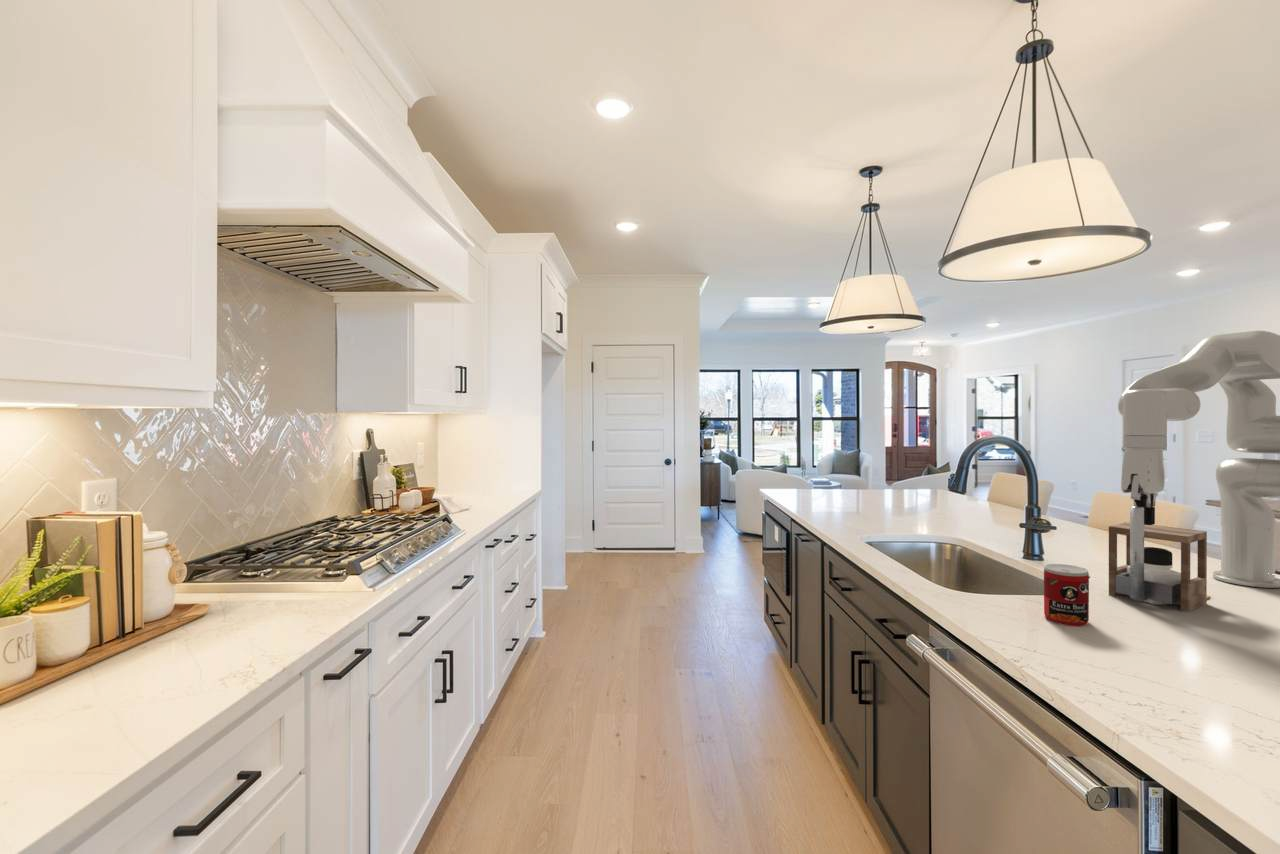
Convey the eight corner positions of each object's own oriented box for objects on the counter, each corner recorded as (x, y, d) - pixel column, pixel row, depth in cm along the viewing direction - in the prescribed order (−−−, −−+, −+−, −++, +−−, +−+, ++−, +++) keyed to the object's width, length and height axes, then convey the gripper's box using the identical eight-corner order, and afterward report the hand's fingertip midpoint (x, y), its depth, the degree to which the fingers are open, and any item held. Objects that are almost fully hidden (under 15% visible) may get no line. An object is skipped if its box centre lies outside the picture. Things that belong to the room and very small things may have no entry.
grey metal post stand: (1134, 585, 140) (1134, 499, 140) (1190, 596, 131) (1190, 504, 131) (1107, 595, 133) (1107, 504, 133) (1164, 607, 124) (1164, 510, 124)
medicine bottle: (1184, 604, 130) (1184, 551, 130) (1152, 604, 130) (1152, 552, 130) (1156, 595, 138) (1156, 545, 137) (1126, 595, 138) (1126, 545, 137)
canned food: (1047, 623, 120) (1046, 570, 120) (1041, 611, 127) (1041, 562, 127) (1093, 629, 116) (1093, 575, 116) (1084, 617, 123) (1084, 565, 123)
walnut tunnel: (1128, 588, 143) (1128, 522, 143) (1206, 603, 131) (1206, 531, 131) (1108, 594, 138) (1108, 526, 138) (1188, 612, 126) (1188, 536, 125)
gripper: (1138, 442, 138) (1138, 518, 138) (1109, 444, 130) (1109, 524, 131) (1179, 443, 131) (1179, 523, 132) (1151, 445, 124) (1151, 530, 124)
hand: (1144, 523), depth 131 cm, fingers closed
